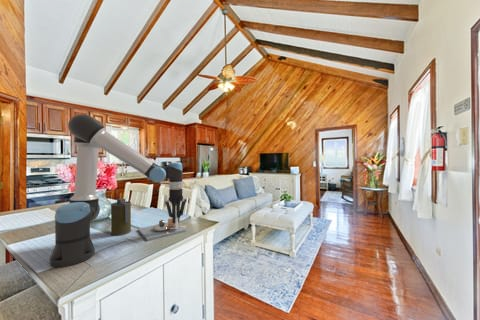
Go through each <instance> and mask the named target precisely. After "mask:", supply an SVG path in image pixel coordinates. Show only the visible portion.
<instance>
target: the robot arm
mask: <svg viewBox="0 0 480 320" xmlns="http://www.w3.org/2000/svg"><path fill="white" fill-rule="evenodd" d="M67 128H68V130H69V132H70V134H71V135H73V136H74V138H73V144H74V145H76V147H77V152H76V153H77V154H76V165H75V166H76V167H75V177H74V178H75V179H74V189H73V195H72V196H71V197H70V198H69V203H67V204H63V205H61V206H59V207H58V208H56V209H55V214H54V221H55V222H54V228H55V229H54V230H55V231H54V233H55V234H54V235H55V236H54V237H55V242H54V243H55V244H54V247H53V249H52V252H51V254H50V257H49V266H51V267H53V268H62V267H63V268H64V267H68V266H73V265H74V266H75V265H77V264H80V263H83V262H85V261H87V260H90V259H91V258H92V257H93V256H94V255H95V252H96V251H95V250H96V249H95V246H94V243H93V241H92V239H91V223H93V222H94V221H95V220H96V219H97V218H98V216H99V214H100V213H101V206H100V204H99V200H100V198H99V196H98V195H97V194H96V193H97V191H96V190H97V179H98V163H99V153H100V152H99V151H100V150H99V149H102V150H104V151H105V152H106V153H108V154H110V155H111V156H113V157H115V158H117V159H118V160H119V161H121V162H123V163H124V164H126V165H127V166H130V168H132V169H134V170H136V171H138V172H139V173H141V174H142V175H144V176H146V179H147V180H150V181H152V182H154V183H160V182H161V183H162V182H163V181H164V180H168V181H169V183H168V188H169V189H168V193H169V194H168V198H167V200H165V201H164V205H165V206H166V209H167V213H168V214H167V215H168V217H169V218H172V222H173V223H174V228H175V229H178V222H179V223H180V218H181V216H183V214H184V211H185V207H186V202H187V199H186V198H184V195H183V173H184V172H183V163H181V162H169V163H168V165H158V164H156V163H155V162H154V161H152V160H150V159H149V158H148V157H146V156H144V155H143V154H141V153H140V152H138V151H137V150H135V149H134V148H133V147H131V146H129V145H127V144H126V143H125V142H123V141H121V140H120V139H118V138H117V137H115V136H114V135H113V134H111V133H109V131H107V128H106V127H105V125H104V124H103V123H102V122H101V121H100V120H98V119H96V118H94V117H93V116H91V115H89V114H86V113H85V114H84V113H83V114H82V113H80V114H76V115H74V116H72V117H71V118H70V119H69V120H68V123H67ZM170 204H171V205H170Z"/></svg>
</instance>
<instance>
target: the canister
mask: <svg viewBox="0 0 480 320" xmlns="http://www.w3.org/2000/svg"><path fill="white" fill-rule="evenodd" d="M131 204H132V202H131V201H127V200H126V198H124V197H123V198H122V197H121V198H116V202H113V203H111V204H110V213H111V214H110V215H111V216H110V219H111V220H110V221H111V222H110V229H111V230H110V235H111V236H117V237H118V236H124V235H127V234H129V233H131V232H132V225H131V224H132V220H131V219H132V216H131V215H132V212H131V211H132V208H131V207H132V206H131Z"/></svg>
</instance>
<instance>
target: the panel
mask: <svg viewBox="0 0 480 320" xmlns="http://www.w3.org/2000/svg"><path fill="white" fill-rule="evenodd" d="M154 225H155V224H154ZM154 225H150V226H149V225H148V226H144V227H138V228H137V231H138V232H139V233H140V235H141V236H142V238H144V239H145V241H147V242H150V241H153V240H157V239H161V238H166V237H169V236H172V235H173V236H174V235H177V234H181V233H185V232H187V229H186V227H187V225H185V226H183V225H180V224H179V227H178V229H175V228H170V229H169V230H166V231H161V232H157V231H153V226H154Z"/></svg>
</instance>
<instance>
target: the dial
mask: <svg viewBox="0 0 480 320" xmlns="http://www.w3.org/2000/svg"><path fill="white" fill-rule="evenodd" d="M165 221H166V220H164V219H163V220H162V219H161V220H159V221H158V222H159V223H157V224H154V226H153V225H152V226H153V231H157V232H161V231H166V230H169V229H170V228H174V223H173V222H172V218H171V217H169V218H168V219H167V222H165ZM179 225H180V221H179V222H178V227H179Z"/></svg>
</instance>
